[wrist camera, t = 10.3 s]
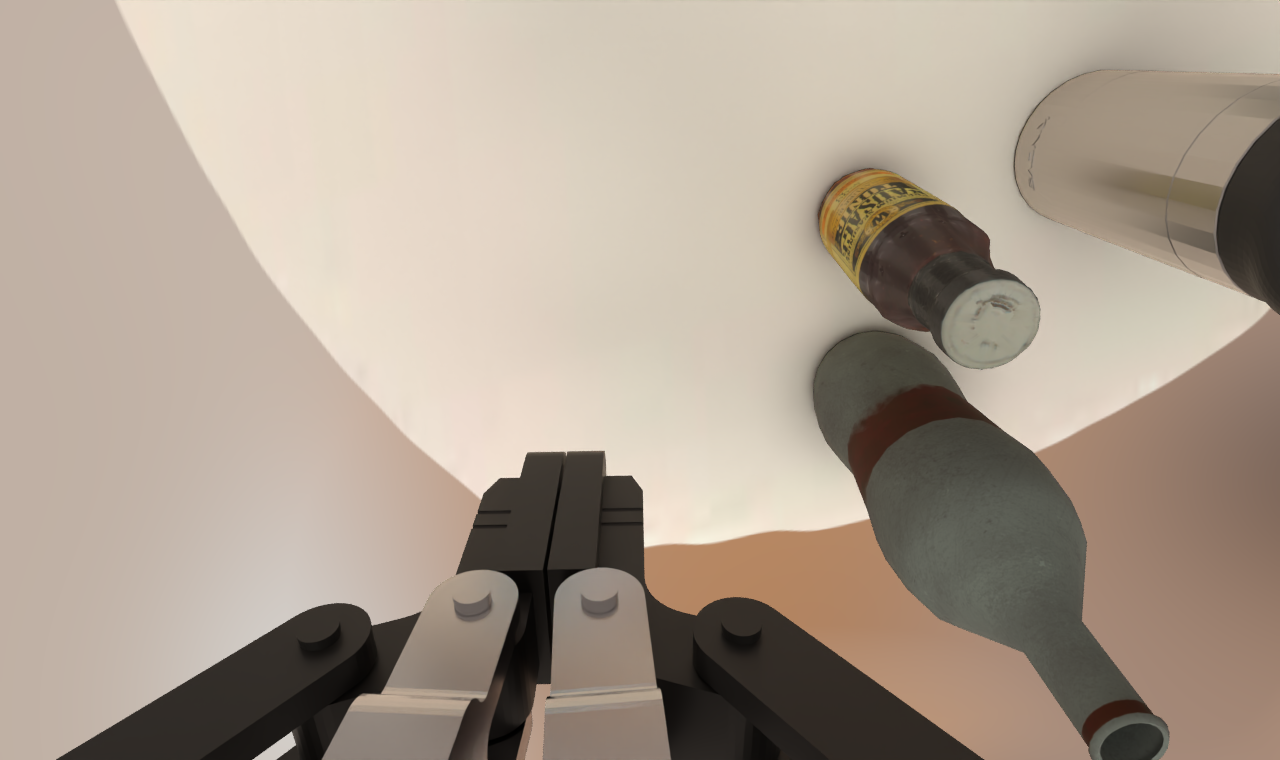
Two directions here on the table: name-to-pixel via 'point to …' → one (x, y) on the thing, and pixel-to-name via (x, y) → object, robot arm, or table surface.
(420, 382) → the table surface
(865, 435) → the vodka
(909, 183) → the sauce bottle
